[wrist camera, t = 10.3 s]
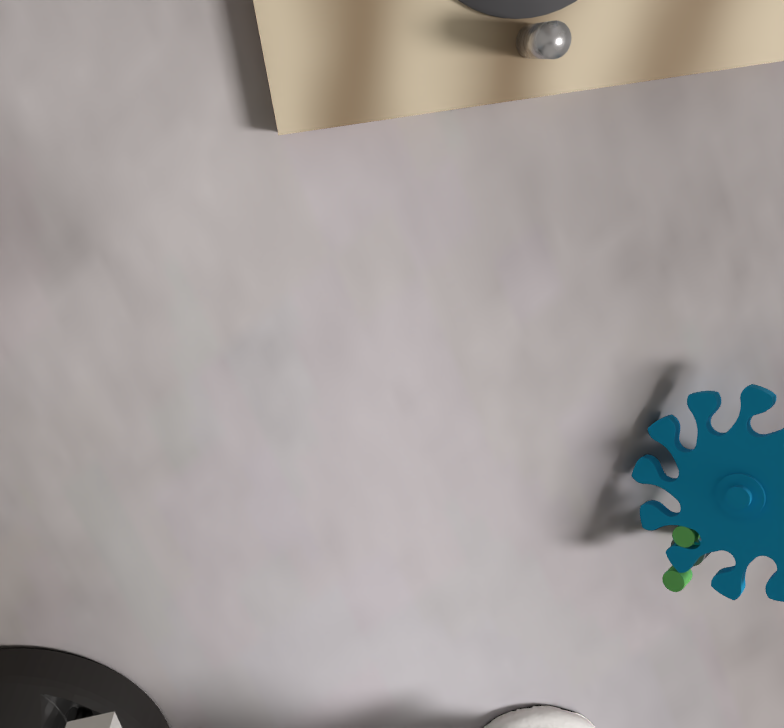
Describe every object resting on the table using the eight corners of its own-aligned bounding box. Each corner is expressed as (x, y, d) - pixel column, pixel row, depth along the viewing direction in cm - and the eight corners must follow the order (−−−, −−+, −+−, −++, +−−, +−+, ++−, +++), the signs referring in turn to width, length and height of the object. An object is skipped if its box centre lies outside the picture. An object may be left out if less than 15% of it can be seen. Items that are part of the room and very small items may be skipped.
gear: (717, 341, 32) (933, 501, 28) (748, 334, 37) (937, 470, 32) (576, 509, 37) (741, 667, 33) (619, 485, 42) (769, 620, 37)
